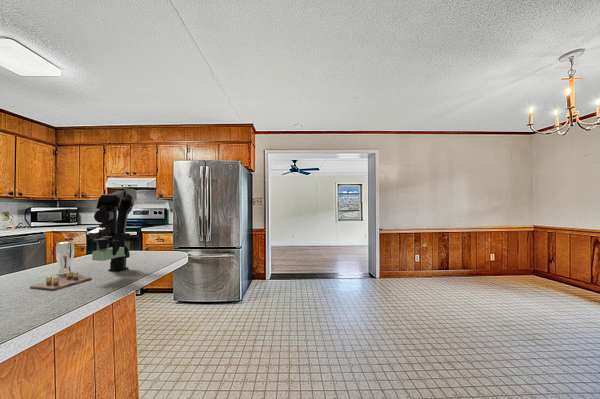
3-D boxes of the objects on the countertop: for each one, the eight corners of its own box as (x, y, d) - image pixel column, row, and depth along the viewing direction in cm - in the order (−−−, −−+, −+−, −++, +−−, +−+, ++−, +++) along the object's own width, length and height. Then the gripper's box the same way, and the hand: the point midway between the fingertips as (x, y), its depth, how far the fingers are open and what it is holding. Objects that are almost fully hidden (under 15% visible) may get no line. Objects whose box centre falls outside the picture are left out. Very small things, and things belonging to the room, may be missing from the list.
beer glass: (77, 271, 138) (78, 241, 138) (64, 275, 131) (65, 243, 131) (65, 271, 139) (65, 241, 139) (51, 274, 132) (51, 243, 132)
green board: (113, 255, 134) (113, 246, 134) (124, 255, 133) (124, 247, 134) (92, 260, 122) (92, 251, 122) (103, 260, 122) (103, 251, 122)
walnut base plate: (70, 277, 128) (70, 269, 128) (91, 279, 125) (91, 271, 125) (30, 288, 112) (30, 278, 112) (53, 290, 110) (53, 281, 110)
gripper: (75, 221, 122) (75, 257, 122) (110, 223, 118) (110, 259, 118) (99, 220, 133) (98, 252, 133) (131, 221, 129) (131, 254, 129)
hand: (109, 254), depth 128 cm, fingers closed on green board, 6 cm apart
